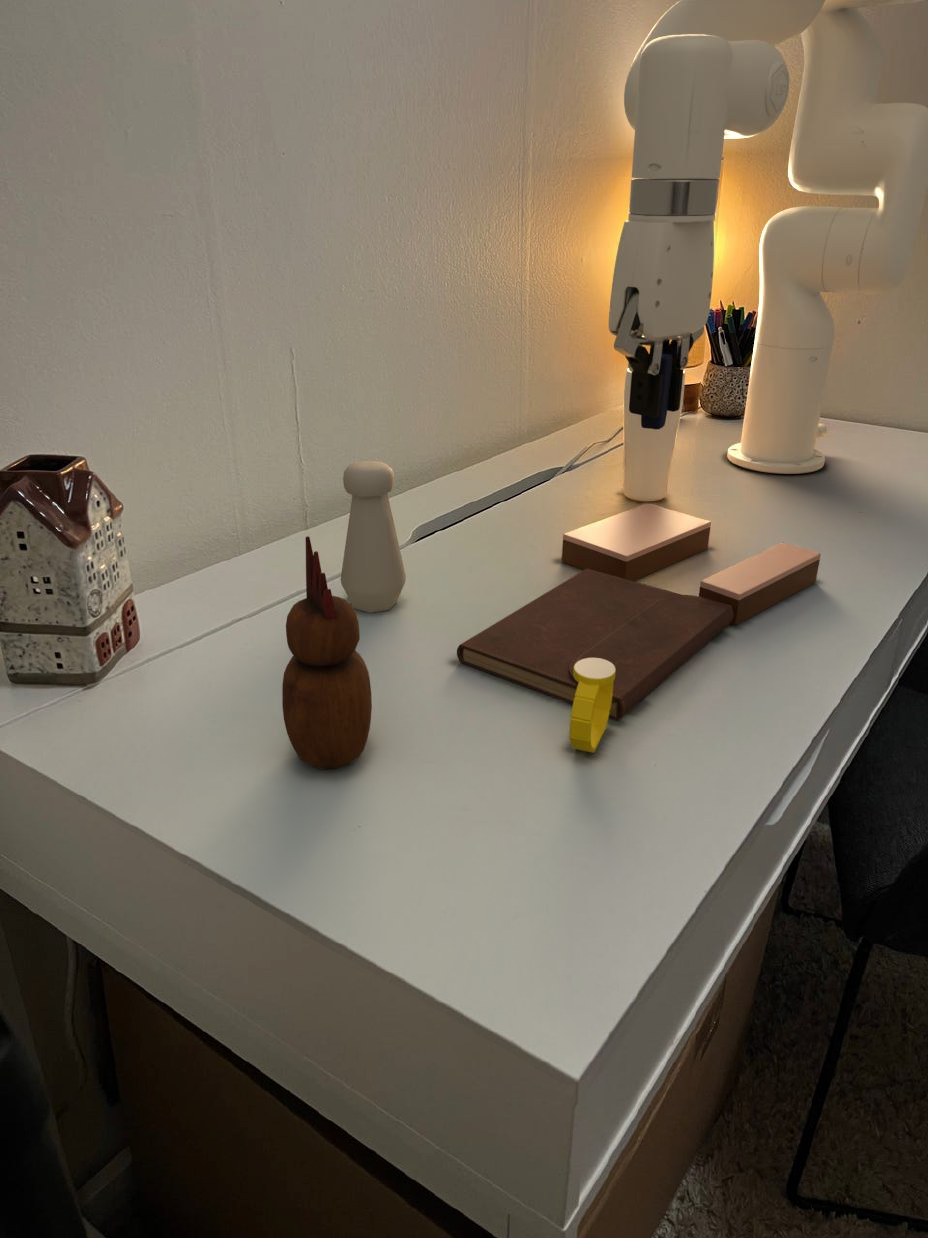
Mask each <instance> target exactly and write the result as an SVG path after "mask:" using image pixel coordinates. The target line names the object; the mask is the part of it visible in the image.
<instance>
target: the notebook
mask: <svg viewBox="0 0 928 1238" xmlns="http://www.w3.org/2000/svg"><path fill="white" fill-rule="evenodd" d="M733 616H734V613H733V609H732V606H731V605H728V604H725V603H721V602H718V601H714V600H710V599H707V598H703V597H699V595H692V594H681V593H678V592H674V591H671V590H668V589H664V588H659V587H656V586H653V585H648V584H646V583H642V582H639V581H631V580H627V579H624V578H620V577H616V576H613V575H609V574H605V573H602V572H598V571H594V570H591V569H585V570H583V569H582V571H580V572H579V573H577V574H575V575H573V576H572V577H570V578H568V579H566V580H565V581H563V582H562V583H560V584H558V585H557V586H555V587H553V588H552V589H549V590H548V591H547V592H545V593H543V594H541V595H540V596H538V597H537V598H535V599H533V600H531V601H530V602H529V603H527V604H525V605H524V606H522V607H520V608H518V609H517V610H515V611H514V612H512V613H510V614H509V615H506V616H505V617H503V618H502V619H500V620H499V621H496V622H495V623H494V624H491V625H490V626H488V627H487V628H485V629H483V630H482V631H480V632H478V633H477V634H475V635H473V636H471V637H470V638H468V639H467V640H465V641H463V642H462V643H460V644H459V645H458V647H457V648H456V657H457V659H458V662H460V663H461V664H463V665H466V666H469V667H471V668H475V669H478V670H480V671H483V672H485V673H488V674H491V675H494V676H496V677H499V678H502V679H505V680H506V681H509V682H512V683H514V684H517V685H520V686H523V687H525V688H528V689H531V690H534V691H535V692H539V693H542V694H544V695H546V696H550V697H552V698H556V699H558V700H561V701H564V702H566V703H569V704H571V705H573V701H574V698H575V693H576V689H577V686H578V683H579V682H577V681H576V680H575V679H574V676H573V669H574V665H575V664H576V663H577V662H578V661H580V660H582V659H585V658H601V659H604V660H607V661H609V662H611V663H612V664H613V665H614V666H615V669H616V672H615V679H614V683H613V696H612V703H611V709H610V714H609V718H608V719H612V720H614V721H617V722H619V721H620V720H621V719H622V718H624V717H625V716H626V715H627V714H628V713H629V712H630V711H631V710H633V709H634V708H635V707H636V706H637V705H638V704H640V703H641V702H642V701H643V700H644V699H646V697H648V696H649V695H650V694H651V693H652V692H653V691H655V690H656V689H657V688H658V687H659V686H660V685H662V683H664V682H665V681H666V680H667V679H668V678H669V677H671V676H672V675H673V674H674V673H675V672H676V671H678V669H680V668H681V667H682V666H683V665H684V664H685V663H686V662H688V661H689V660H690V659H691V658H692V657H694V656H695V655H696V654H697V653H698V652H699V651H700V650H702V648H704V647H705V646H706V645H707V644H708V643H710V642H711V641H712V640H713V639H714V638H715V637H716V636H718V635H719V634H720V633H721V632H722V631H723V630H724V629H726V628H727V627H728V626H729V625H731V624H730V622H731V621H732V619H733Z"/></svg>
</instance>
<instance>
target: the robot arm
mask: <svg viewBox="0 0 928 1238" xmlns="http://www.w3.org/2000/svg"><path fill="white" fill-rule="evenodd" d="M925 1H926V0H678V1H677V2H675V4H673V5H672V6H671V7H669V8H668V9H667V10H666V11H665V12H664V13H663V14H662V15H661V16H660V18H659V19H658V20H657V21H656V23H655V24H654V25H653V27H652V29H651V30H650V31H649V33H648V35H646V37H645V39H644V40H643V42H642V44H641V45H640V47H639V48H638V50H637V52H636V54H635V56H634V58H633V60H632V63H631V65H630V67H629V70H628V72H627V75H626V80H625V85H624V92H623V108H624V113H625V116H626V120H627V122H628V124H629V125H630V127H631V128H632V129H633V130H634V137H633V139H634V140H633V151H632V152H633V153H632V165H631V179H630V190H629V201H628V202H629V203H628V216H627V217H628V220H624V222H623V226H622V229H621V232H620V237H619V242H618V246H617V251H616V256H615V261H614V268H613V273H612V274H613V276H612V282H611V283H612V284H611V290H610V299H609V311H608V330H609V332H610V334H611V335H612V336H615V339H614V342H613V349H614V351H616V352H617V353H619V354H621V355H622V356H624V357H625V359H626V360H627V363H628V364H627V369H629V371H632V376H631V389H630V402H629V411H630V412H631V413H633V414H638V415H643V416H647V417H652V418H655V417H658V416H659V415H660V407H661V396H662V386H663V374H658V373H659V370H660V363H661V355H662V354H670V355H671V356H672V372H671V379H670V388H669V397H668V408H667V411H672V412H675V411H678V410H679V408H680V400H681V390H682V380H683V371H685V369H686V368H687V366H688V363H689V353H690V351H691V350H692V348H693V346H694V344H695V343H696V342H697V341H698V340H699V339H700V338H701V337H702V336H703V334H704V332H705V326H706V325H707V322H708V319H709V313H710V308H711V303H712V293H713V281H714V266H715V265H714V264H715V222H716V218H717V217H716V216H717V215H716V214H717V208H718V207H717V206H718V198H719V189H720V181H721V180H720V178H721V171H722V170H721V169H722V161H723V153H724V145H725V143H724V142H725V139H726V140H727V139H730V140H731V139H745V138H751V137H755V136H758V135H760V134H762V133H764V132H765V131H767V130H768V129H770V128H771V127H772V126H773V125H774V124H775V123H776V122H777V120H778V119H779V117H780V116H781V114H782V112H783V110H784V108H785V106H786V103H787V100H788V97H789V90H790V73H789V69H788V65H787V62H786V59H785V57H784V56H783V55H782V53H781V52H780V50H779V49H778V48H777V47H778V46H780V45H782V44H784V43H787V42H788V41H791V40H792V39H795V38H796V37H798V36H800V37H801V42H802V48H803V61H804V63H803V72H802V78H801V86H800V91H799V97H798V102H797V108H796V113H795V119H794V123H793V129H792V130H793V132H792V137H791V142H790V148H789V155H788V164H787V165H788V166H787V168H788V169H787V176H788V180H789V183H790V184H791V185H792V188H794V189H796V190H797V191H799V192H803V193H807V194H818V195H836V196H837V195H841V196H842V195H843V196H872V197H876V198H877V199H878V207H845V206H834V205H831V206H830V205H829V206H828V205H803V206H794V207H789V208H787V209H783V210H781V211H779V212H777V213H776V214H774V215H773V216H771V218H770V219H769V220H768V221H767V222H766V224H765V225H764V228H763V230H762V233H761V236H760V242H759V250H758V251H759V252H758V253H759V254H758V255H759V257H758V258H759V260H758V261H759V301H758V302H759V303H758V313H757V322H756V328H755V329H756V330H755V336H754V337H755V338H754V344H753V352H752V356H751V357H752V358H751V365H750V373H749V378H748V379H749V380H748V387H747V394H746V402H745V409H744V416H743V424H742V431H741V438H740V442H737V443H735V444H732V445H731V446H730V447H729V448H727V449H728V450H727V453H726V455H727V456H726V458H727V459H728V461H729V462H731V463H732V464H734V465H736V466H739V467H742V468H744V469H747V470H751V471H756V472H761V473H762V472H763V473H769V474H781V475H782V474H783V475H797V474H808V473H813V472H816V471H819V470H821V469H822V468H823V467H824V466H825V461H826V456H825V455H824V454H823V453H822V452H821V451H819V450H817V449H815V448H816V441H817V440H818V439H821V438H824V437H826V435H827V433H828V429H827V426H826V425H825V424H824V423H820V420H821V413H822V407H823V402H824V395H825V390H826V385H827V379H828V374H829V368H830V362H831V355H832V350H833V345H834V339H835V324H834V319H833V316H832V314H831V311H830V309H829V307H828V305H827V304H826V302H825V299H824V298H823V296H822V294H821V293H840V294H841V293H843V294H854V295H855V294H856V295H871V296H873V295H874V296H875V295H879V296H880V295H887V294H890V293H892V292H894V291H896V289H898V288H899V287H900V286H901V285H902V283H903V282H904V280H905V278H906V276H907V273H908V271H909V269H910V264H911V261H912V257H913V253H914V250H915V245H916V241H917V237H918V232H919V227H920V223H921V218H922V213H923V209H924V204H925V200H926V196H927V191H928V107H926V106H925V105H923V104H920V103H914V102H887V103H886V102H885V103H884V102H883V103H882V102H881V103H877V95H878V90H879V84H880V78H881V74H882V69H883V66H884V65H883V63H884V52H883V47H882V44H881V43H880V41H879V38H878V36H877V34H876V32H875V31H874V28H873V27H872V26H871V24H870V22H869V21H868V20H867V18H866V17H865V16H864V14H863V12H862V11H861V10H860V8H869V7H878V6H879V7H880V6H891V5H903V4H904V5H905V4H914V3H915V4H916V3H921V2H925ZM646 346H647V347H649V351H648V349H647V347H646Z"/></svg>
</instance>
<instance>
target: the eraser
mask: <svg viewBox="0 0 928 1238" xmlns="http://www.w3.org/2000/svg"><path fill="white" fill-rule="evenodd" d="M671 372H672V356H671V355H670V354H662V355H661V363H660V370H659V373H658V374H663V386H662V396H661V407H660V415H659V416H658V417H655V418H652V417H647V416H643V415H641V426H642V428H647V429H660V428H662V427H663V426H664V425H665V421H666V416H667V408H668V397H669V388H670V379H671Z"/></svg>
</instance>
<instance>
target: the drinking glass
mask: <svg viewBox="0 0 928 1238" xmlns="http://www.w3.org/2000/svg"><path fill="white" fill-rule="evenodd" d="M625 374H626V375H625V378H624V379H625V381H624V388H623V403H622V426H623V427H622V428H623V429H622V431H623V433H622V435H623V436H622V437H623V441H622V443H623V446H622V447H623V476H622V477H623V478H622V493H623V495H624V496H625V497H626V498H628V499H629V500H632V501H636V502H647V503H650V502H657V501H661V500H664V498H666V496H667V494H668V491H669V481H670V474H671V469H672V463H673V458H674V452H675V449H676V442H677V438H678V433H679V432H678V431H679V427H680V423H681V417H682V411H683V405H684V396H685V384H686V371H685V370H684V371H683V380H682V390H681V400H680V408H679V410H678V411H675V412H672V411H667V416H666V421H665V425H664V426H663V427H662V428H660V429H647V428H642V426H641V415H638V414H633V413H631V412H630V411H629V402H630V389H631V376H632V371H629V369H628V368H627V369H626V372H625Z"/></svg>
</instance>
